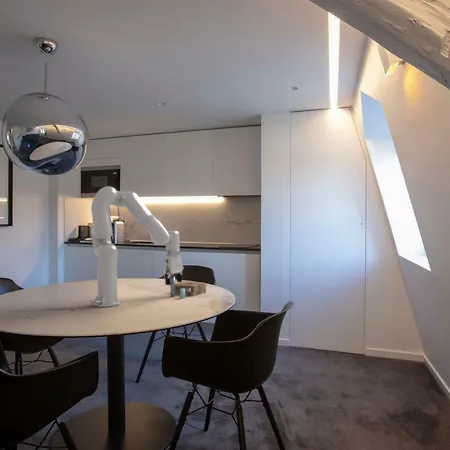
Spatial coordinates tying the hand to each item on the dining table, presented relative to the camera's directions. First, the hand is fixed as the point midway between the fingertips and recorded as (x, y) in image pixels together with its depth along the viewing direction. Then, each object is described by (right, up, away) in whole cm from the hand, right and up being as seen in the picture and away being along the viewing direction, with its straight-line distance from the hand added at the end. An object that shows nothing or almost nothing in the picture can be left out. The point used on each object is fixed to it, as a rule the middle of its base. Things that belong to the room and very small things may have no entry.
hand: (173, 283), depth 201 cm
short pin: (+5, -7, -4) cm, 10 cm away
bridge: (+8, -7, +10) cm, 15 cm away
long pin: (0, -7, 0) cm, 7 cm away
